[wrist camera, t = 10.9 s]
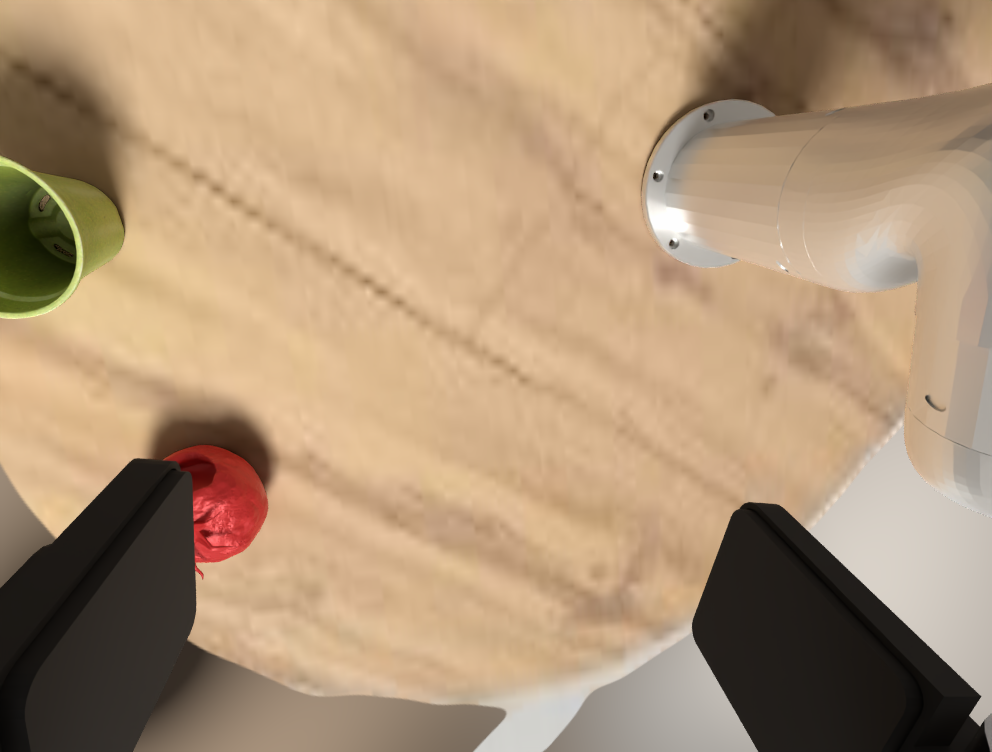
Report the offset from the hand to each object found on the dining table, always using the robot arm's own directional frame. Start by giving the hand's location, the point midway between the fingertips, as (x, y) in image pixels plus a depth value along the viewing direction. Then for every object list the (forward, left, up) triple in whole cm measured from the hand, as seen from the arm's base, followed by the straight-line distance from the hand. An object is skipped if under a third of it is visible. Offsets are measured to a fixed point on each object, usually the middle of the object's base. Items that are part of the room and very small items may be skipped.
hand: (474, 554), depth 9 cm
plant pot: (+25, +2, -36) cm, 44 cm away
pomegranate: (+16, +23, -37) cm, 46 cm away
